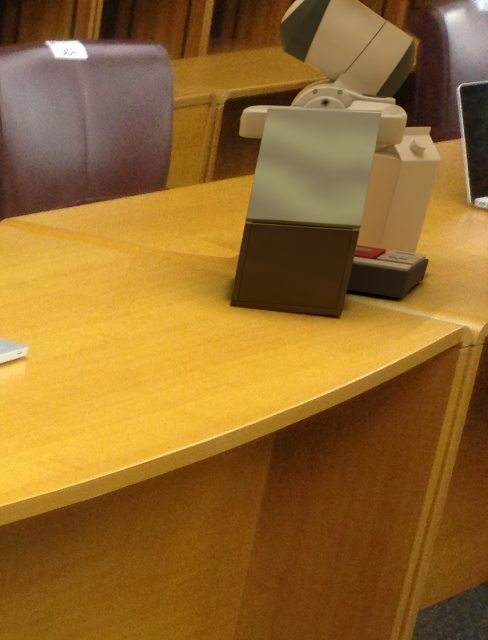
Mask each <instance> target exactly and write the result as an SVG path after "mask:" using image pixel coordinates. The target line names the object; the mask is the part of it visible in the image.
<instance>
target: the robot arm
mask: <svg viewBox="0 0 488 640" xmlns="http://www.w3.org/2000/svg"><path fill="white" fill-rule="evenodd" d="M278 27H279V28H278V29H279V31H278V32H279V40H280V44H281V45H280V46H281V48H282V51H283V53H286V54H287V55H289V56H291V57H293V59H296V60H298V61H299V62H301V63H303V64H304V63H305V64H307V65H308V66H310V67H311V68H312V69H313V70H315V71H317V72H318V73H319V74H321V75H322V76H324V77H325V78H326V79H320V80H317V81H314V82H312V83H310V84H308V85H307V86H305V87H304V88H302V89H301V90H300V91H299V92H298V93H297V95H296V96H295V97H294V98H293V100H292V102H291V104H290V105H268V104H267V105H252V106H251V105H250V106H249V107H246V108H244V109H243V110H242V114H241V116H240V118H239V120H240V121H239V122H240V123H239V124H240V125H239V130H238V135H239V136H240V137H242V138H247V139H248V138H249V139H262V135H263V130H264V125H265V120H266V115H267V110H268V108H271V109H296V110H320V111H345V112H370V113H382V115H381V120H380V125H379V131H378V136H377V142H376V147H375V148H383V147H385V146H386V144H388V145H397V144H400V143H401V142H402V139H403V135H404V131H405V127H407V121H408V114H407V112H406V110H405V109H404V108H403V107H402V106H400V105H397V104H396V98H394V95H395V94H396V93H397V92H398V91H399V89H400V88H401V87H402V85H403V84H404V82H405V81H406V79H407V78H408V76H409V75H410V73H411V71H412V70H413V67H414V64H415V60H416V59H415V58H416V44H415V39H414V38H413V37H412V36H411V35H409V34H407V32H405V31H403V30H402V29H401V28H400V27H398V26H397V25H395V24H393V23H391V22H390V21H389V20H387V19H385V18H384V17H382V16H381V15H379V14H378V13H376V12H375V11H373V10H372V9H371V8H370V7H369V6H366V5H365V4H364V3H363V2H361V1H360V0H294V2H292V4H291V5H290V6H289V7H288V9H287V10H286V12H285V14H284V15H283V16H282V19H281V22H280V23H279V24H278Z"/></svg>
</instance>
